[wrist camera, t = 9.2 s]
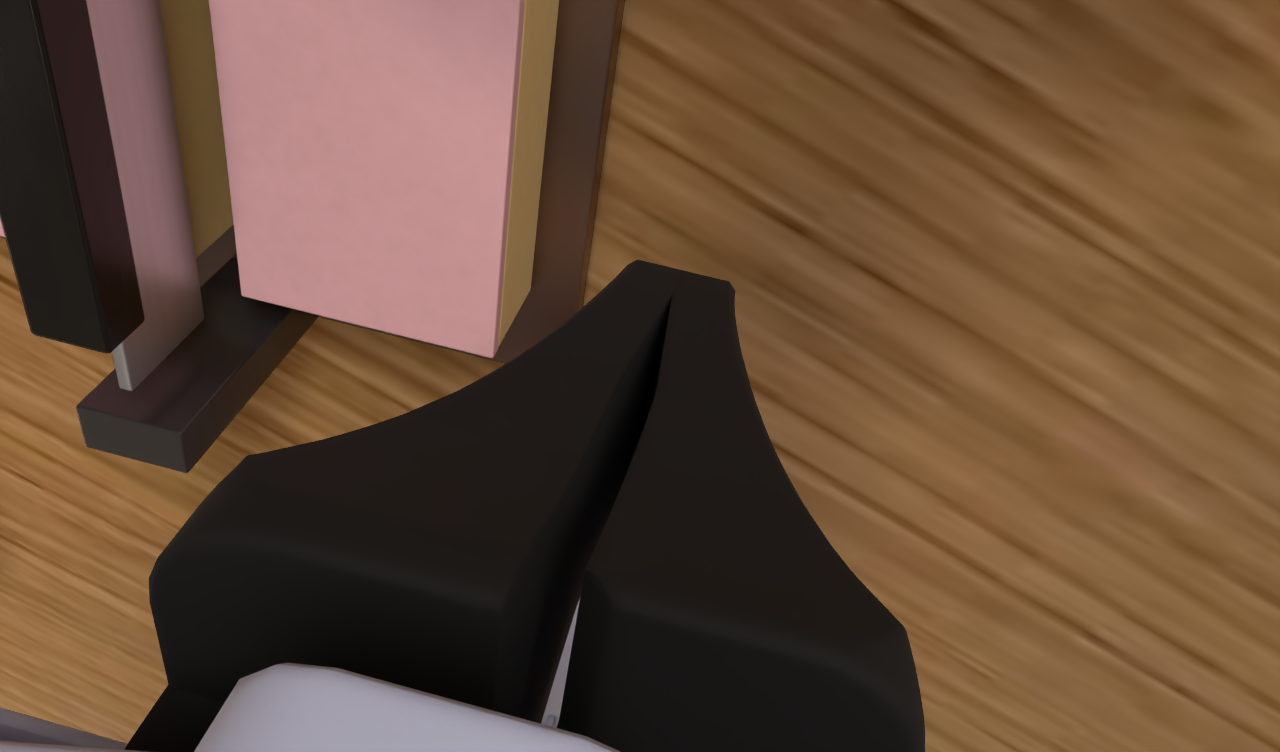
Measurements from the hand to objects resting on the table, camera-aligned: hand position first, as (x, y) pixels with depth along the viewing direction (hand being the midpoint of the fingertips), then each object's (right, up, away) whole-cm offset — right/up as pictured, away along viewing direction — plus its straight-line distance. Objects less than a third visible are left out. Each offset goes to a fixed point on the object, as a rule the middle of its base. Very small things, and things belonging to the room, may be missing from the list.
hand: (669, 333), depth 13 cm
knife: (-9, +6, +6) cm, 13 cm away
